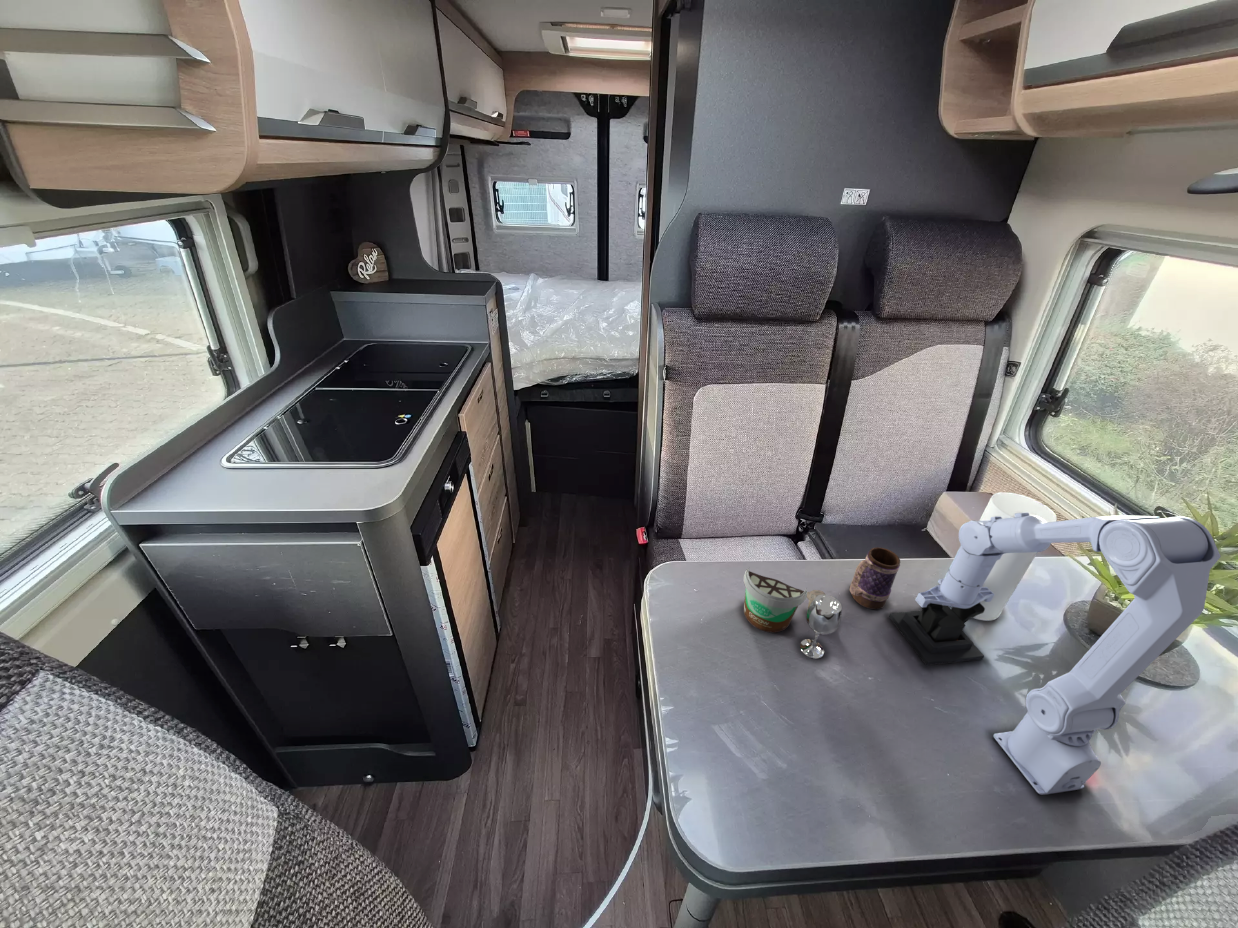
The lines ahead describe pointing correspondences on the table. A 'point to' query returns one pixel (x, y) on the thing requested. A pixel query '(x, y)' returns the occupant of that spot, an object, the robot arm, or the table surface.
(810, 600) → the toy character
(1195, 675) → the table surface
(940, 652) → the base pad
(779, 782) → the table surface
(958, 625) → the black block
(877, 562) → the mug
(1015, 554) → the tall pillar cylinder
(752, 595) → the food container
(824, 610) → the wineglass
